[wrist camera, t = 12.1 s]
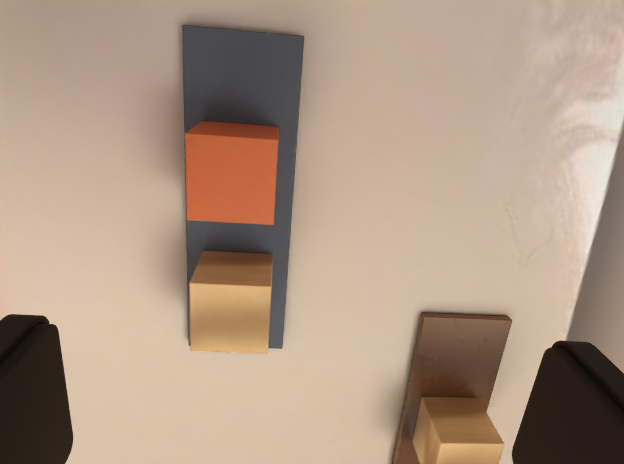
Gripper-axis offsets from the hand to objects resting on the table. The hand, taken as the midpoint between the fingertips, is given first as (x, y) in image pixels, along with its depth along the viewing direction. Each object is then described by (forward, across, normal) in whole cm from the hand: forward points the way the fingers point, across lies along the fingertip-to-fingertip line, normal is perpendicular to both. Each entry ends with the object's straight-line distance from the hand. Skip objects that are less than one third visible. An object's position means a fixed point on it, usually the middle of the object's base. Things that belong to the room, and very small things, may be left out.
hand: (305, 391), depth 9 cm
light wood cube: (+19, -13, +19) cm, 30 cm away
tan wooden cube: (+19, +3, +8) cm, 21 cm away
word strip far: (+20, -13, +20) cm, 31 cm away
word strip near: (+20, +3, +3) cm, 20 cm away
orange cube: (+19, +3, 0) cm, 19 cm away
